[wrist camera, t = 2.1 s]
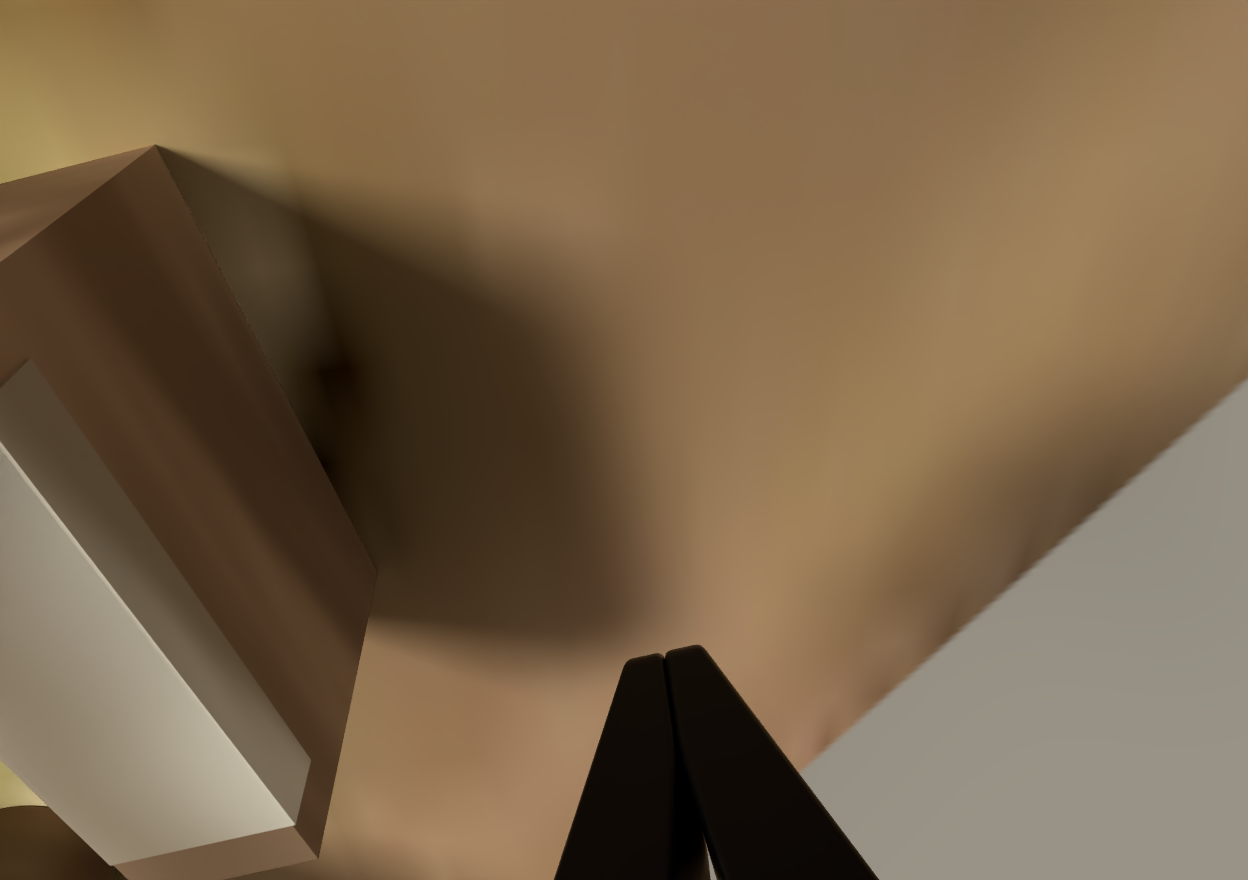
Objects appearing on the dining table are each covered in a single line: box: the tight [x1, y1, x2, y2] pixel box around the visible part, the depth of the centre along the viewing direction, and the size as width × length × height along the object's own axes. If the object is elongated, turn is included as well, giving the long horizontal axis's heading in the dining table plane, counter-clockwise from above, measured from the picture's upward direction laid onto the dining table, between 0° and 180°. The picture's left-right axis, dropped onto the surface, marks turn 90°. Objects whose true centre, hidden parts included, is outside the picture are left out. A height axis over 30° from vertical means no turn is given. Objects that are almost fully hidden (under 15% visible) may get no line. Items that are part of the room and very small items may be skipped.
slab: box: [0, 145, 378, 880], centre depth 14 cm, size 3×10×7 cm, turn 12°
